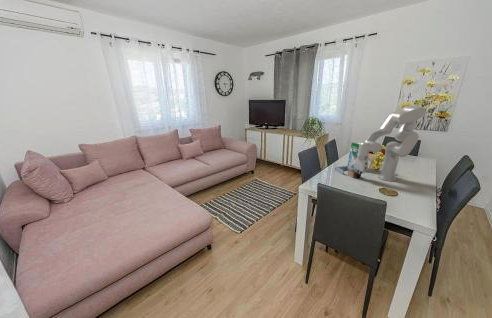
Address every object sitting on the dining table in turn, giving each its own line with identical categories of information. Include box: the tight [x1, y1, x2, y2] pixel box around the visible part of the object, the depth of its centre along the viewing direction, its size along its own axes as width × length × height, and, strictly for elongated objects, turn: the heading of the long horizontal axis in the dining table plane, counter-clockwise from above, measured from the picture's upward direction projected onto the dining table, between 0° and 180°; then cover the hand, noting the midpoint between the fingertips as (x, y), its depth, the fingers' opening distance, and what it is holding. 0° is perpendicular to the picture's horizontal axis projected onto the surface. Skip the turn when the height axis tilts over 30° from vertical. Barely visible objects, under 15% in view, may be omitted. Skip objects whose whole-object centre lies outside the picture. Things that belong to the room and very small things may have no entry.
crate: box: [347, 169, 357, 179], centre depth 170 cm, size 6×6×5 cm
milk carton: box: [347, 142, 361, 169], centre depth 185 cm, size 9×9×25 cm
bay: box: [334, 165, 353, 175], centre depth 180 cm, size 13×10×4 cm
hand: (358, 177), depth 165 cm, fingers closed
